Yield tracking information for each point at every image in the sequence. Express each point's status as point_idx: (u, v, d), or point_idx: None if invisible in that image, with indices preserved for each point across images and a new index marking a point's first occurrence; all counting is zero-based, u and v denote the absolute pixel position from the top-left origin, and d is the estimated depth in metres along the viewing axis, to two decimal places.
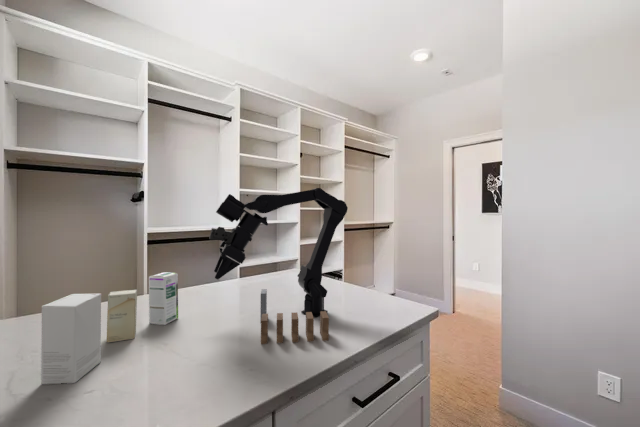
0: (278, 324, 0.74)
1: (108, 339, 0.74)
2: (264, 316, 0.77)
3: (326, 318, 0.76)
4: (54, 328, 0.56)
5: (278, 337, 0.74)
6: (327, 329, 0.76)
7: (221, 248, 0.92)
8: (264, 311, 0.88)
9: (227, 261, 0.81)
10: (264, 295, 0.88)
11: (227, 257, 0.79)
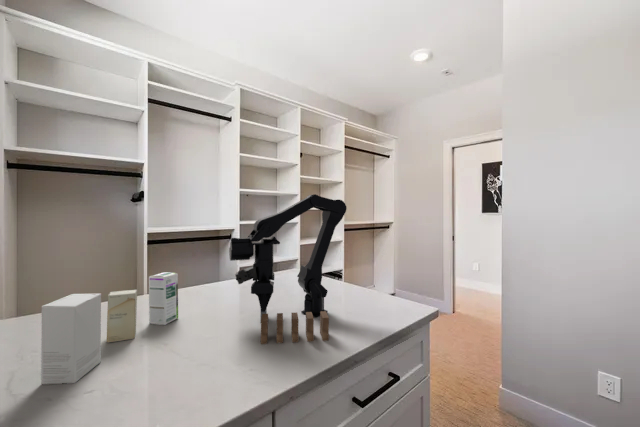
0: (278, 324, 0.74)
1: (108, 339, 0.74)
2: (264, 316, 0.77)
3: (326, 318, 0.76)
4: (54, 328, 0.56)
5: (278, 337, 0.74)
6: (327, 329, 0.76)
7: None
8: None
9: (262, 293, 0.86)
10: None
11: None
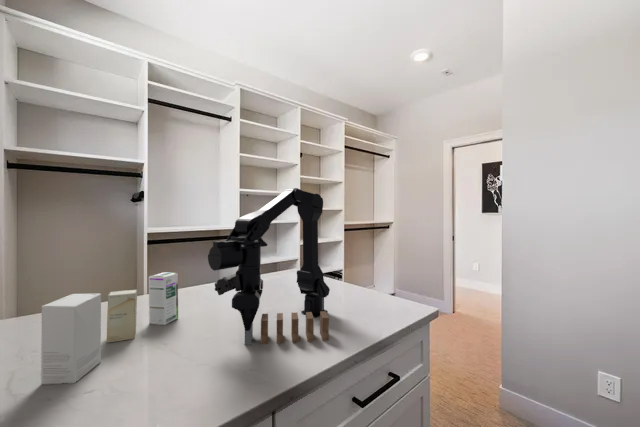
0: (278, 324, 0.74)
1: (108, 339, 0.74)
2: (264, 316, 0.77)
3: (326, 318, 0.76)
4: (54, 328, 0.56)
5: (278, 337, 0.74)
6: (327, 329, 0.76)
7: None
8: (249, 330, 0.73)
9: (246, 308, 0.71)
10: None
11: (241, 307, 0.68)
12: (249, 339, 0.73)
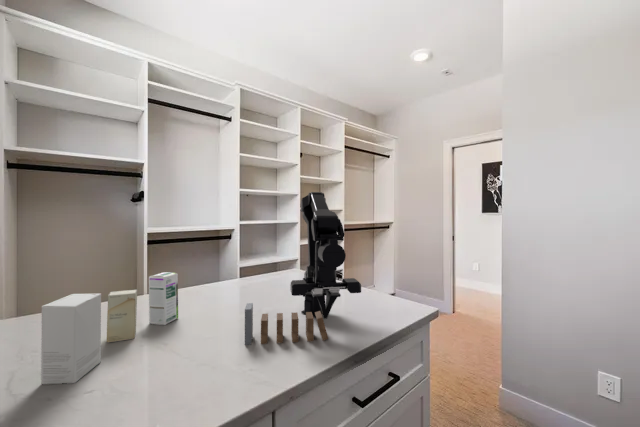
0: (278, 324, 0.74)
1: (108, 339, 0.74)
2: (264, 316, 0.77)
3: (320, 318, 0.76)
4: (54, 328, 0.56)
5: (278, 337, 0.74)
6: (324, 328, 0.76)
7: None
8: (249, 330, 0.73)
9: None
10: (249, 311, 0.73)
11: (311, 292, 0.79)
12: (249, 339, 0.73)
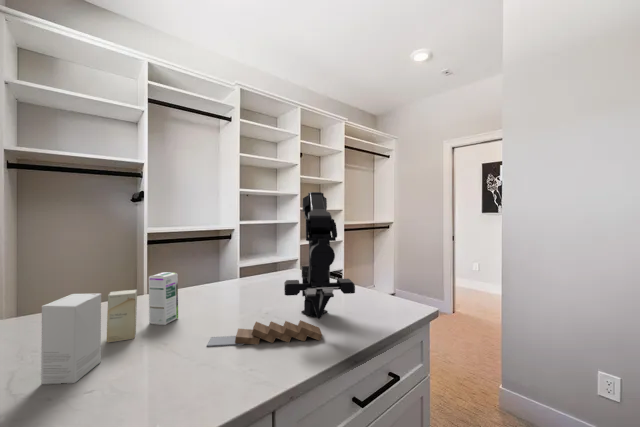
0: (256, 334, 0.74)
1: (108, 339, 0.74)
2: None
3: (301, 329, 0.75)
4: (54, 328, 0.56)
5: (268, 339, 0.74)
6: (311, 332, 0.76)
7: None
8: (229, 345, 0.73)
9: None
10: None
11: (305, 292, 0.79)
12: None
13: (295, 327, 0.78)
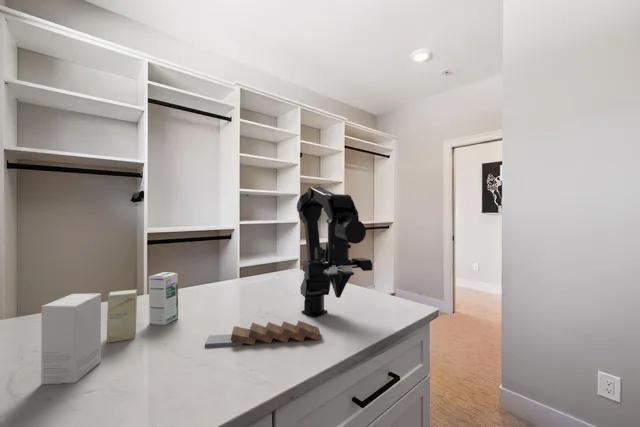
0: (253, 335, 0.73)
1: (108, 339, 0.74)
2: (232, 332, 0.75)
3: (299, 329, 0.75)
4: (54, 328, 0.56)
5: (266, 339, 0.74)
6: (310, 332, 0.76)
7: None
8: (227, 344, 0.73)
9: None
10: (207, 345, 0.72)
11: (324, 272, 0.79)
12: (236, 343, 0.73)
13: (293, 327, 0.78)
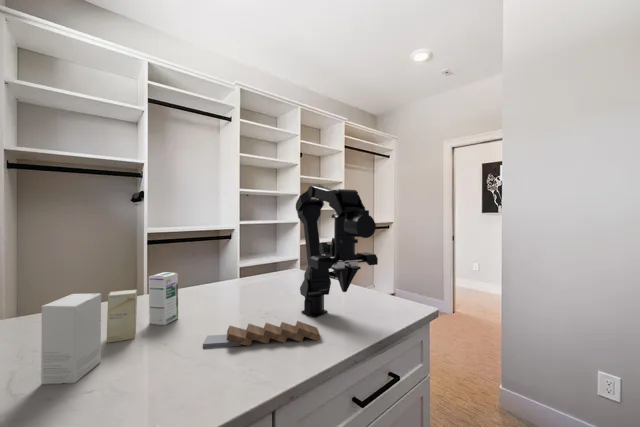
0: (250, 336, 0.73)
1: (108, 339, 0.74)
2: (228, 331, 0.74)
3: (298, 330, 0.75)
4: (54, 328, 0.56)
5: (263, 340, 0.74)
6: (309, 332, 0.76)
7: None
8: (225, 344, 0.72)
9: (339, 270, 0.79)
10: (205, 345, 0.72)
11: (331, 267, 0.79)
12: (235, 343, 0.73)
13: (292, 328, 0.78)
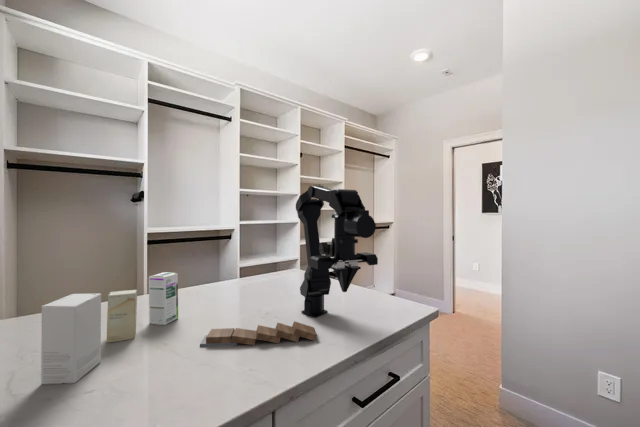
0: (235, 340, 0.73)
1: (108, 339, 0.74)
2: None
3: (295, 330, 0.75)
4: (54, 328, 0.56)
5: (249, 342, 0.73)
6: (306, 333, 0.75)
7: None
8: (222, 344, 0.73)
9: (339, 270, 0.79)
10: (202, 345, 0.72)
11: (331, 267, 0.79)
12: (231, 344, 0.73)
13: (287, 328, 0.77)
